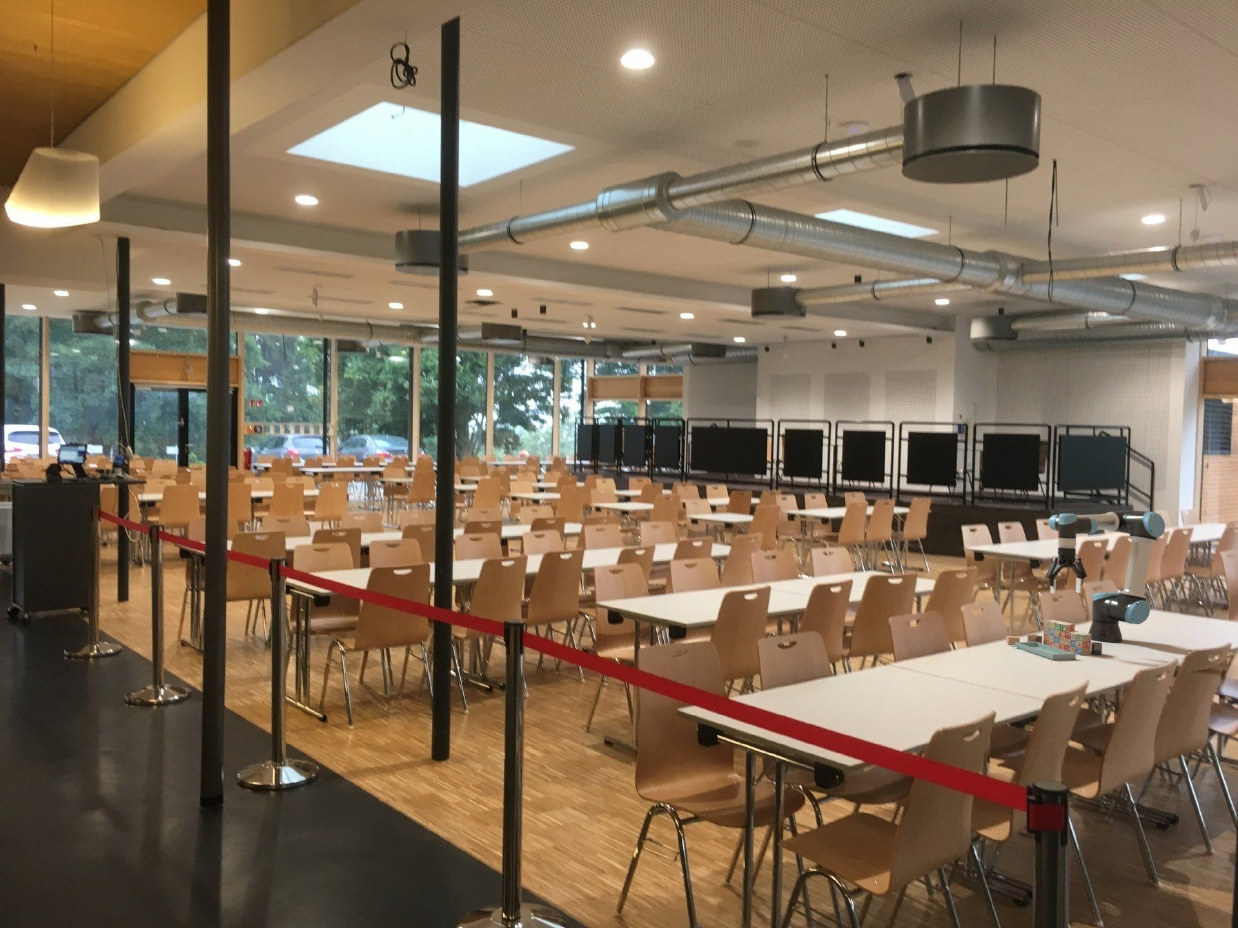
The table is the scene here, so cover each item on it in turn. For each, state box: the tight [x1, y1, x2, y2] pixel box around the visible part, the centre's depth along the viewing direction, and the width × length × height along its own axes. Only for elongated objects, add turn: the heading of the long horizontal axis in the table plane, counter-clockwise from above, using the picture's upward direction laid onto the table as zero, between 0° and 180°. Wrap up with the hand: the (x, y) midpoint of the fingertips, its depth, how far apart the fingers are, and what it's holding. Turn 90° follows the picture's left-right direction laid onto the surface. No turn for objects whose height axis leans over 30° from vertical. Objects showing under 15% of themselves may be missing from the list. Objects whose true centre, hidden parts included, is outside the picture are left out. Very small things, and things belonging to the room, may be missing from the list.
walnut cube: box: [1026, 634, 1043, 644], centre depth 463 cm, size 4×4×4 cm
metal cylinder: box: [1090, 641, 1103, 656], centre depth 445 cm, size 4×4×5 cm
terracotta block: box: [1005, 635, 1021, 646], centre depth 461 cm, size 5×4×4 cm
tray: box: [1014, 641, 1077, 661], centre depth 444 cm, size 12×27×2 cm, turn 13°
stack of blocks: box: [1042, 619, 1092, 656], centre depth 453 cm, size 21×6×12 cm, turn 25°
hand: (1065, 592), depth 453 cm, fingers open, 13 cm apart
